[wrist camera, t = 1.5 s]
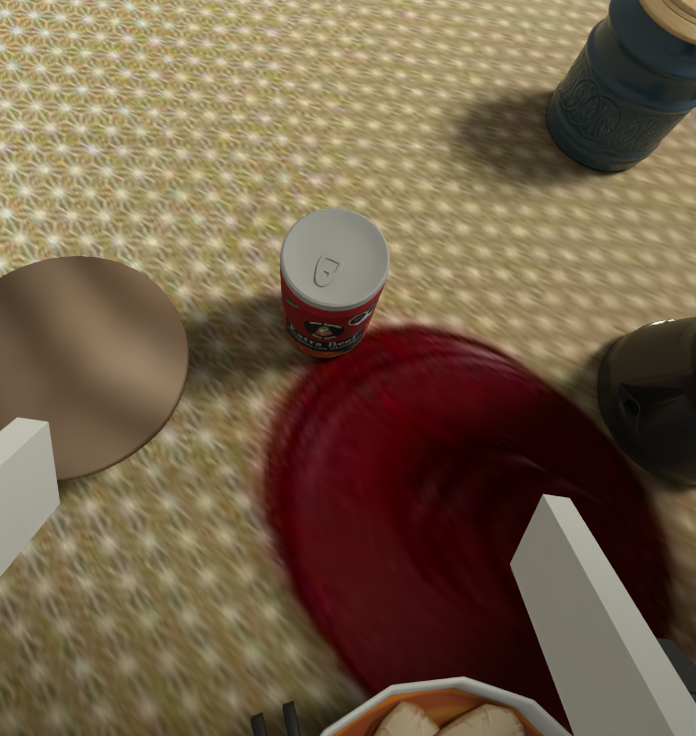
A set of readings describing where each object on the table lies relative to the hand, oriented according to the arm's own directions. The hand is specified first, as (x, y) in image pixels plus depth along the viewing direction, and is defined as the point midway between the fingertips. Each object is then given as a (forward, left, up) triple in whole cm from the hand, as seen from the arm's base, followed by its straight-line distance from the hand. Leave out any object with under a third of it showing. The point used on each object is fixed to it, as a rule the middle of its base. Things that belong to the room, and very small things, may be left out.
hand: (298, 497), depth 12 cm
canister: (-54, +3, -25) cm, 60 cm away
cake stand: (+1, -19, -25) cm, 31 cm away
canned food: (-15, -8, -25) cm, 30 cm away
